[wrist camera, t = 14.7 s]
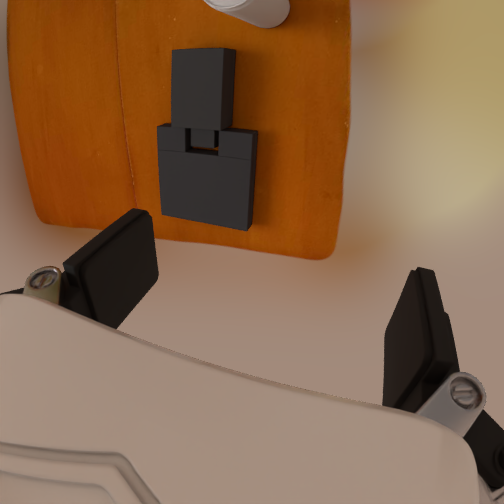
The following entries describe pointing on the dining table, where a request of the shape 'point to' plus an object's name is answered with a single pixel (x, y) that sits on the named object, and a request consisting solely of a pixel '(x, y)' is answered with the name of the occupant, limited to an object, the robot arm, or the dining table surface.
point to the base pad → (208, 177)
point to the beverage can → (254, 10)
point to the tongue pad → (202, 92)
